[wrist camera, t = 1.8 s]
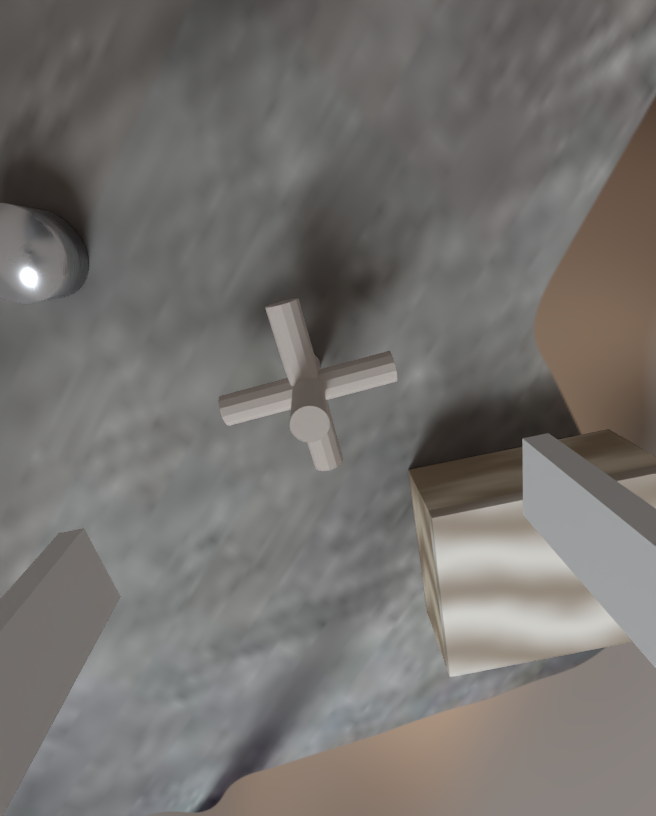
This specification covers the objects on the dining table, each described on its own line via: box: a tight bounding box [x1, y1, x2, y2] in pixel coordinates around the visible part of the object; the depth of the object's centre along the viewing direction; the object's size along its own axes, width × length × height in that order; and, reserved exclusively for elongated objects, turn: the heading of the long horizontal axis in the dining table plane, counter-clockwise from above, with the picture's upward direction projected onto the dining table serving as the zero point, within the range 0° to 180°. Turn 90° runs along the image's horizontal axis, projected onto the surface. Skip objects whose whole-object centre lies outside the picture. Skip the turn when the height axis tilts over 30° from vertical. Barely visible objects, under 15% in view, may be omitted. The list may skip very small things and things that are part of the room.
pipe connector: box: [219, 298, 397, 471], centre depth 22 cm, size 10×10×10 cm
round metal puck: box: [0, 203, 89, 303], centre depth 22 cm, size 5×5×3 cm
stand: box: [408, 429, 656, 677], centre depth 30 cm, size 16×16×6 cm
